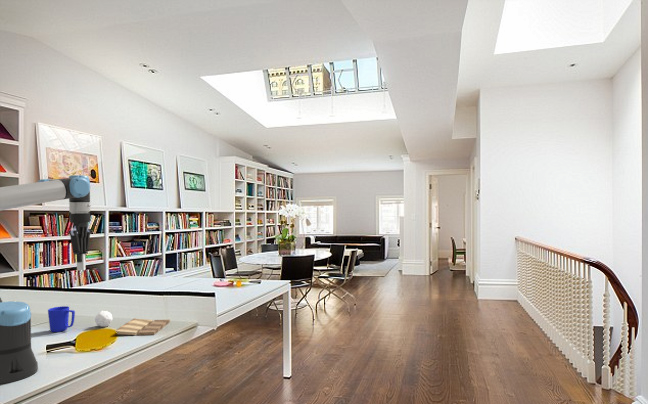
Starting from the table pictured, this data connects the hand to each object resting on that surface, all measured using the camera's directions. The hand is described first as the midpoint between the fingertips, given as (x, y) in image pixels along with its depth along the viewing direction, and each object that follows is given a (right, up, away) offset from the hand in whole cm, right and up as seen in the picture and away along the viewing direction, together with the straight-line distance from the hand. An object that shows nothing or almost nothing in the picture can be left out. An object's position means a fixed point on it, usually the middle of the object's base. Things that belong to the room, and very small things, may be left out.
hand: (81, 269), depth 177 cm
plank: (+15, -29, +16) cm, 36 cm away
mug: (-18, -30, +16) cm, 39 cm away
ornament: (-2, -30, +22) cm, 37 cm away
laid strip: (+24, -29, +16) cm, 41 cm away
